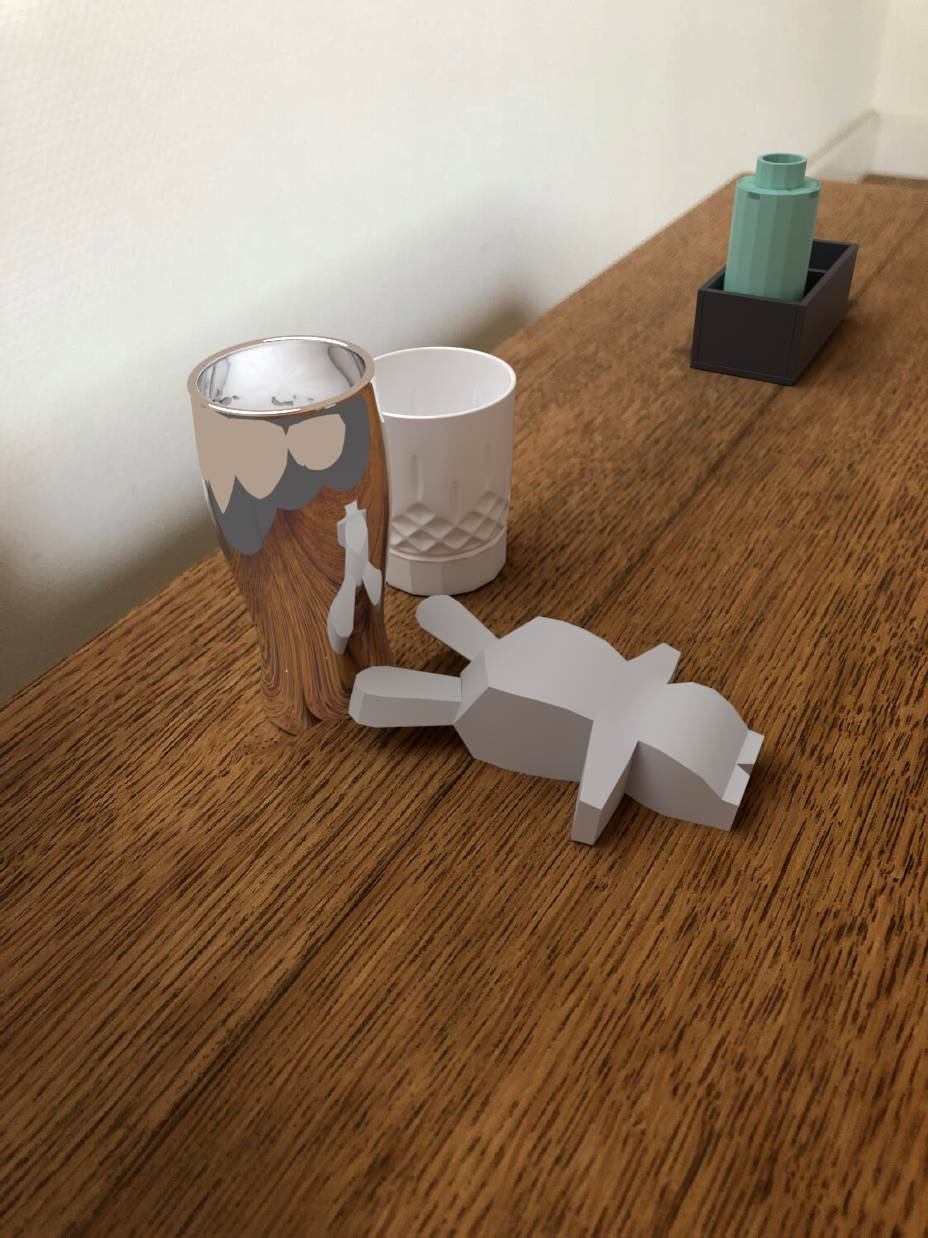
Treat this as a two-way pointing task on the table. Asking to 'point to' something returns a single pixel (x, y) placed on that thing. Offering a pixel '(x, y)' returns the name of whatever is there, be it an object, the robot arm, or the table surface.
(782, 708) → the table surface
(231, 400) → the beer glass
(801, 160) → the bottle
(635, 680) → the bunny figurine
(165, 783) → the table surface
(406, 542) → the white cup
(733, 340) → the holder
